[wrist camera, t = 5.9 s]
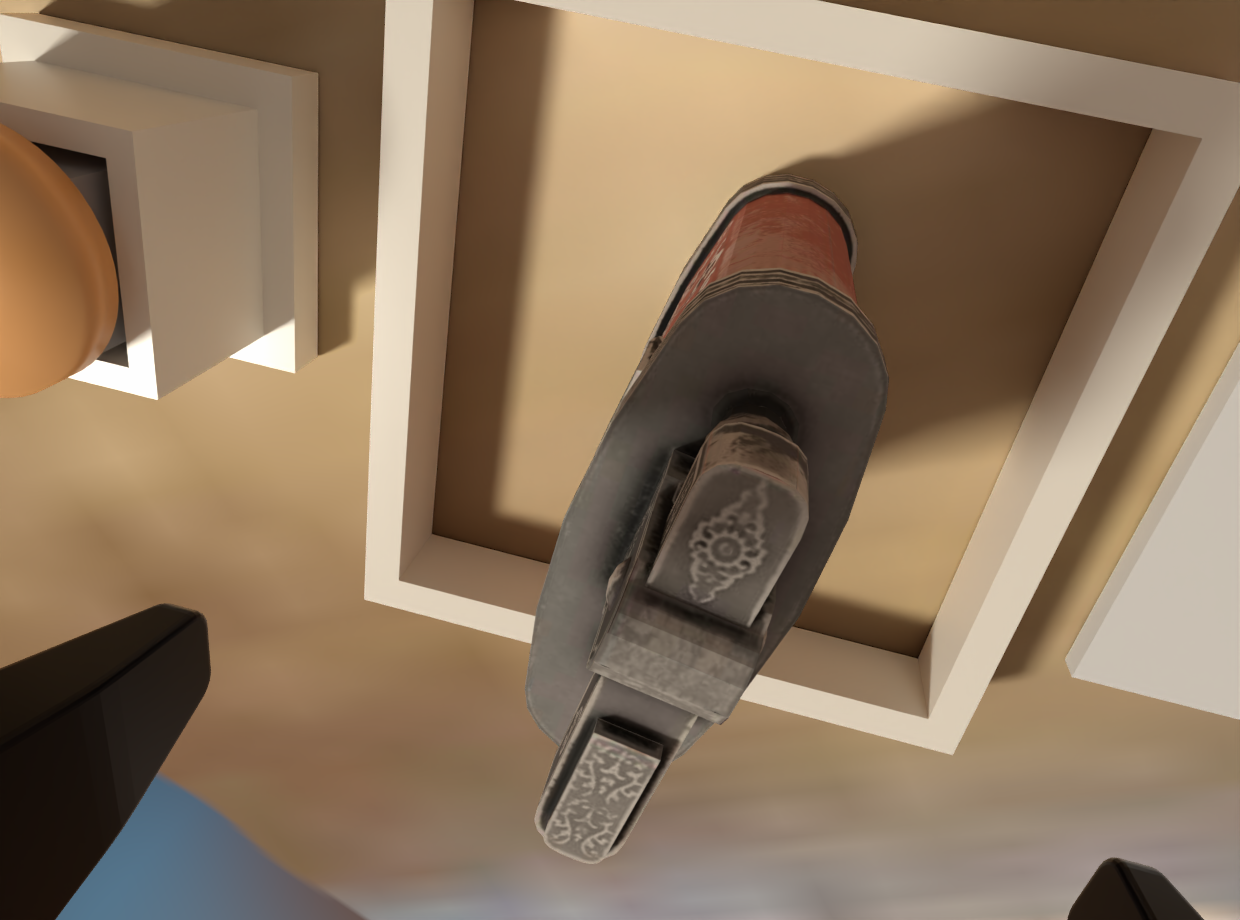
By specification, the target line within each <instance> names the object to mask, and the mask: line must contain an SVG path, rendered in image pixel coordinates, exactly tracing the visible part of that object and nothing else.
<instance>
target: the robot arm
mask: <svg viewBox="0 0 1240 920" xmlns="http://www.w3.org/2000/svg"><path fill="white" fill-rule="evenodd" d="M210 675H211V666H210V653H209V640H208V627H207V620H206V618H205V617H204V615H203V614H202V613H200V612H199V611H196V610H192V609H188V608H185V607H181V606H177V605H173V604H166V603H164V604H159V605H156V606H153V607H151V608H148V609H146V610H143V611H141V612H138V613H136V614H133V615H131V616H129V617H126V618H124V619H121V620H119V621H116V622H114V623H111V624H109V625H106V626H104V627H101V628H99V629H96V630H94V631H92V632H89V633H87V634H84V635H82V636H79V637H77V638H74V639H72V640H69V641H67V642H64V643H62V644H59V645H57V646H55V647H52V648H50V649H47V650H45V651H42V652H40V653H37V654H35V655H32V656H30V657H27V658H25V659H23V660H20V661H18V662H15V663H13V664H10V665H8V666H5V667H3V668H0V920H55V919H56V918H57V917H58V915H59V914H60V913H61V911H62V910H63V909H64V907H65V906H66V905H67V903H68V902H69V901H70V899H71V898H72V896H73V895H74V894H75V893H76V891H77V890H78V889H79V887H80V886H81V885H82V883H83V882H84V881H85V879H86V878H87V877H88V875H89V874H90V873H91V871H92V870H93V869H94V867H95V866H96V865H97V863H98V862H99V861H100V859H101V858H102V857H103V855H104V854H105V853H106V851H107V850H108V848H109V847H110V846H111V844H112V843H113V841H114V840H115V838H116V837H117V836H118V835H119V833H120V832H121V830H122V829H123V827H124V826H125V824H126V823H127V821H128V819H129V818H130V816H131V815H132V813H133V812H134V810H135V808H136V807H137V805H138V804H139V802H140V800H141V799H142V797H143V796H144V794H145V792H146V791H147V789H148V787H149V786H150V784H151V782H152V781H153V779H154V777H155V776H156V774H157V772H158V771H159V769H160V767H161V766H162V764H163V762H164V761H165V759H166V758H167V756H168V754H169V753H170V751H171V749H172V748H173V746H174V744H175V743H176V741H177V739H178V738H179V736H180V734H181V733H182V731H183V729H184V728H185V726H186V724H187V723H188V721H189V719H190V718H191V716H192V715H193V713H194V711H195V710H196V708H197V706H198V705H199V703H200V701H201V700H202V698H203V696H204V694H205V692H206V690H207V687H208V684H209V681H210ZM1068 920H1204V919H1203V918H1202V917H1201V916H1200V915H1199V914H1198V912H1197V911H1196V910H1195V909H1194V908H1193V907H1192V906H1191V905H1190V904H1189V902H1188V901H1187V900H1186V899H1185V898H1184V897H1183V896H1182V895H1181V894H1180V893H1179V891H1178V890H1177V889H1176V888H1175V887H1174V886H1173V885H1172V884H1171V883H1170V881H1169V880H1168V879H1167V878H1166V877H1165V876H1164V875H1163V874H1162V873H1161V872H1159V871H1158V870H1156V869H1154V868H1152V867H1150V866H1146V865H1142V864H1139V863H1135V862H1131V861H1127V860H1124V859H1120V858H1109V859H1107V860H1105V861H1103V863H1102V864H1101V865H1100V866H1099V868H1098V869H1097V871H1096V872H1095V874H1094V875H1093V876H1092V878H1091V879H1090V881H1089V882H1088V884H1087V885H1086V887H1085V888H1084V890H1083V891H1082V893H1081V894H1080V895H1079V897H1078V898H1077V900H1076V901H1075V903H1074V904H1073V906H1072V908H1071V910H1070V912H1069V915H1068Z"/></svg>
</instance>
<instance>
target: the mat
mask: <svg viewBox="0 0 1240 920" xmlns="http://www.w3.org/2000/svg"><path fill="white" fill-rule="evenodd" d="M1065 661H1066V663H1067V666H1068V668H1069V671H1070V673H1071V676H1072V677H1074V678H1078V679H1082V680H1086V681H1090V682H1094V683H1098V684H1102V685H1106V686H1109V687H1113V688H1117V689H1121V690H1125V691H1129V692H1133V693H1137V694H1141V695H1145V696H1149V697H1153V698H1157V699H1161V700H1165V701H1169V702H1172V703H1176V704H1180V705H1184V706H1188V707H1192V708H1196V709H1200V710H1204V711H1208V712H1212V713H1216V714H1220V715H1224V716H1228V717H1231V718H1235V719H1239V720H1240V342H1239V344H1238V346H1237V348H1236V349H1235V351H1234V353H1233V355H1232V357H1231V359H1230V360H1229V362H1228V364H1227V366H1226V368H1225V369H1224V371H1223V373H1222V375H1221V377H1220V378H1219V380H1218V382H1217V384H1216V386H1215V388H1214V389H1213V391H1212V393H1211V395H1210V397H1209V398H1208V400H1207V402H1206V404H1205V406H1204V408H1203V409H1202V411H1201V413H1200V415H1199V417H1198V418H1197V420H1196V422H1195V424H1194V426H1193V428H1192V429H1191V431H1190V433H1189V435H1188V437H1187V438H1186V440H1185V442H1184V444H1183V446H1182V447H1181V449H1180V451H1179V453H1178V455H1177V457H1176V458H1175V460H1174V462H1173V464H1172V466H1171V467H1170V469H1169V471H1168V473H1167V475H1166V477H1165V478H1164V480H1163V482H1162V484H1161V486H1160V487H1159V489H1158V491H1157V493H1156V495H1155V496H1154V498H1153V500H1152V502H1151V504H1150V506H1149V507H1148V509H1147V511H1146V513H1145V515H1144V516H1143V518H1142V520H1141V522H1140V524H1139V526H1138V527H1137V529H1136V531H1135V533H1134V535H1133V536H1132V538H1131V540H1130V542H1129V544H1128V545H1127V547H1126V549H1125V551H1124V553H1123V555H1122V556H1121V558H1120V560H1119V562H1118V564H1117V565H1116V567H1115V569H1114V571H1113V573H1112V575H1111V576H1110V578H1109V580H1108V582H1107V584H1106V585H1105V587H1104V589H1103V591H1102V593H1101V595H1100V596H1099V598H1098V600H1097V602H1096V604H1095V605H1094V607H1093V609H1092V611H1091V613H1090V614H1089V616H1088V618H1087V620H1086V622H1085V624H1084V625H1083V627H1082V629H1081V631H1080V633H1079V634H1078V636H1077V638H1076V640H1075V642H1074V644H1073V645H1072V647H1071V649H1070V651H1069V653H1068V654H1067V656H1066V658H1065Z"/></svg>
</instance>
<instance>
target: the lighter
mask: <svg viewBox="0 0 1240 920" xmlns="http://www.w3.org/2000/svg"><path fill="white" fill-rule="evenodd" d="M857 245H858V242H857V238H856V234H855V230H854V227H853V224H852V221H851V218H850V215H849V212H848V210H847V209H846V208H845V207H844V205H843V204H842V203H841V202H840V200H839V199H838V198H837V197H836V195H835V194H834V193H833V192H831V191H830V190H828V189H826V188H825V187H823V186H822V185H820V184H818V183H817V182H815V181H814V180H811V179H807V178H803V177H799V176H795V175H790V174H784V175H771V176H764V177H761V178H759V179H757V180H755V181H752V182H750V183H748V184H746V185H744V186H743V187H742V188H740V189H739V190H738V191H737V192H736V193H735V194H734V195H733V196H732V197H731V198H730V199H729V200H728V202H727V204H726V205H725V207H724V208H723V210H722V211H721V213H720V214H719V216H718V217H717V219H716V220H715V222H714V223H713V225H712V226H711V228H710V229H709V231H708V232H707V234H706V235H705V237H704V238H703V240H702V241H701V243H700V244H699V246H698V247H697V249H696V250H695V252H694V253H693V255H692V256H691V258H690V259H689V261H688V262H687V264H686V266H685V267H684V269H683V271H682V273H681V275H680V277H679V279H678V281H677V283H676V285H675V287H674V289H673V291H672V293H671V295H670V297H669V299H668V301H667V303H666V305H665V307H664V309H663V311H662V313H661V315H660V317H659V319H658V321H657V323H656V325H655V327H654V329H653V331H652V333H651V335H650V337H649V340H648V342H647V344H646V346H645V348H644V351H643V354H642V357H641V360H640V363H639V365H638V367H637V369H636V371H635V373H634V375H633V377H632V379H631V381H630V383H629V385H628V387H627V389H626V391H625V393H624V395H623V397H622V399H621V401H620V403H619V405H618V407H617V409H616V411H615V413H614V415H613V417H612V419H611V421H610V423H609V425H608V427H607V429H606V432H605V434H604V436H603V438H602V440H601V442H600V444H599V446H598V448H597V451H596V453H595V456H594V458H593V460H592V462H591V464H590V466H589V468H588V470H587V472H586V474H585V476H584V478H583V480H582V482H581V484H580V486H579V488H578V490H577V492H576V494H575V496H574V498H573V500H572V502H571V504H570V507H569V509H568V511H567V513H566V515H565V517H564V520H563V523H562V526H561V530H560V533H559V536H558V540H557V543H556V546H555V549H554V553H553V556H552V559H551V562H550V566H549V569H548V572H547V576H546V579H545V582H544V585H543V589H542V592H541V595H540V599H539V602H538V605H537V608H536V615H535V622H534V629H533V636H532V643H531V649H530V656H529V663H528V670H527V677H526V684H525V694H526V702H527V708H528V710H529V712H530V714H531V715H532V717H533V719H534V720H535V722H536V724H537V726H538V727H539V729H540V730H541V731H543V732H544V733H545V734H546V735H547V736H548V737H549V738H550V739H551V740H552V741H553V742H555V743H556V744H557V745H558V746H559V747H558V749H557V751H556V754H555V757H554V760H553V763H552V766H551V769H550V772H549V775H548V778H547V781H546V784H545V787H544V790H543V793H542V796H541V799H540V802H539V805H538V808H537V812H536V816H535V820H534V821H535V824H536V827H537V830H538V831H539V832H540V833H541V834H542V835H543V836H544V841H545V843H546V844H547V845H548V846H549V847H550V848H551V849H553V850H555V851H557V852H559V853H560V854H563V855H565V856H567V857H570V858H572V859H574V860H578V861H581V862H584V863H587V864H596V863H598V862H601V861H602V860H603V858H607V857H609V856H612V855H614V854H616V853H617V852H618V850H619V849H620V848H621V847H622V846H623V845H624V843H625V841H626V840H627V838H628V836H629V834H630V833H631V831H632V829H633V827H634V826H635V824H636V822H637V821H638V819H639V817H640V815H641V814H642V812H643V810H644V809H645V807H646V805H647V803H648V802H649V800H650V798H651V796H652V795H653V793H654V791H655V790H656V788H657V786H658V784H659V783H660V781H661V779H662V778H663V776H664V774H665V772H666V771H667V769H668V767H669V765H670V764H671V762H672V761H674V760H676V759H677V758H679V757H680V756H682V755H684V754H685V753H686V752H687V751H688V749H689V748H690V747H691V746H692V745H693V744H694V743H695V742H696V741H697V740H698V739H699V738H700V737H701V736H702V735H703V734H704V733H705V732H706V731H707V730H708V729H709V728H710V727H711V726H712V725H713V724H714V723H717V724H720V725H721V724H722V723H723V722H724V721H726V720H727V719H728V718H729V716H730V714H731V713H732V711H733V709H734V708H735V706H736V704H737V703H738V701H739V699H740V698H741V696H742V695H743V693H744V691H745V690H746V689H747V687H748V686H749V685H750V683H751V682H752V681H753V679H754V678H755V676H756V675H757V674H758V672H759V671H760V670H761V668H762V667H763V666H764V664H765V663H766V661H767V660H768V659H769V657H770V656H771V655H772V653H773V652H774V651H775V649H776V648H777V646H778V645H779V644H780V642H781V641H782V640H783V638H784V637H785V636H786V634H787V633H788V631H789V630H790V629H791V627H792V626H793V625H794V623H795V622H796V621H797V619H798V618H799V616H800V614H801V612H802V610H803V608H804V606H805V604H806V602H807V600H808V598H809V596H810V595H811V593H812V591H813V589H814V587H815V585H816V583H817V581H818V579H819V577H820V575H821V573H822V571H823V569H824V567H825V565H826V563H827V561H828V559H829V557H830V555H831V553H832V551H833V549H834V547H835V545H836V543H837V541H838V539H839V537H840V535H841V533H842V531H843V529H844V527H845V525H846V523H847V521H848V519H849V516H850V513H851V510H852V507H853V504H854V501H855V498H856V495H857V492H858V489H859V487H860V484H861V481H862V478H863V475H864V472H865V469H866V466H867V463H868V460H869V457H870V455H871V452H872V449H873V446H874V443H875V440H876V437H877V434H878V431H879V428H880V425H881V423H882V420H883V417H884V414H885V411H886V403H887V393H888V383H889V377H888V373H887V369H886V364H885V360H884V356H883V353H882V350H881V347H880V344H879V341H878V338H877V335H876V331H875V328H874V325H873V324H872V323H871V321H870V320H869V319H868V318H867V317H866V315H865V314H864V313H863V312H862V311H861V309H860V308H859V307H858V305H857V299H856V294H855V288H854V283H853V277H852V276H853V273H854V270H855V266H856V258H857Z"/></svg>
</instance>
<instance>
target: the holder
mask: <svg viewBox="0 0 1240 920" xmlns="http://www.w3.org/2000/svg"><path fill="white" fill-rule="evenodd" d="M516 1H521V2H526V3H531V4H536V5H541V6H546V7H551V8H556V9H561V10H566V11H571V12H576V13H581V14H586V15H591V16H596V17H601V18H606V19H611V20H616V21H621V22H626V23H631V24H636V25H641V26H646V27H651V28H656V29H661V30H666V31H671V32H675V33H680V34H685V35H690V36H695V37H700V38H705V39H710V40H715V41H720V42H725V43H730V44H735V45H740V46H745V47H750V48H755V49H760V50H765V51H770V52H775V53H780V54H785V55H790V56H795V57H800V58H805V59H810V60H815V61H820V62H825V63H830V64H835V65H840V66H845V67H850V68H855V69H860V70H865V71H870V72H874V73H879V74H884V75H889V76H894V77H899V78H904V79H909V80H914V81H919V82H924V83H929V84H934V85H939V86H944V87H949V88H954V89H959V90H964V91H969V92H974V93H979V94H984V95H989V96H994V97H999V98H1004V99H1009V100H1014V101H1019V102H1024V103H1029V104H1034V105H1039V106H1044V107H1049V108H1054V109H1059V110H1064V111H1069V112H1073V113H1078V114H1083V115H1088V116H1093V117H1098V118H1103V119H1108V120H1113V121H1118V122H1123V123H1128V124H1133V125H1138V126H1143V127H1148V128H1153V129H1152V131H1151V134H1150V136H1149V138H1148V140H1147V143H1146V145H1145V147H1144V149H1143V152H1142V154H1141V156H1140V159H1139V161H1138V163H1137V165H1136V168H1135V170H1134V172H1133V174H1132V177H1131V179H1130V181H1129V183H1128V186H1127V188H1126V190H1125V192H1124V195H1123V197H1122V199H1121V201H1120V204H1119V206H1118V208H1117V210H1116V213H1115V215H1114V217H1113V219H1112V222H1111V224H1110V226H1109V228H1108V231H1107V233H1106V235H1105V237H1104V240H1103V242H1102V244H1101V247H1100V249H1099V251H1098V253H1097V256H1096V258H1095V260H1094V262H1093V265H1092V267H1091V269H1090V271H1089V274H1088V276H1087V278H1086V280H1085V283H1084V285H1083V287H1082V289H1081V292H1080V294H1079V296H1078V298H1077V301H1076V303H1075V305H1074V307H1073V310H1072V312H1071V314H1070V316H1069V319H1068V321H1067V323H1066V326H1065V328H1064V330H1063V332H1062V335H1061V337H1060V339H1059V341H1058V344H1057V346H1056V348H1055V350H1054V353H1053V355H1052V357H1051V359H1050V362H1049V364H1048V366H1047V368H1046V371H1045V373H1044V375H1043V377H1042V380H1041V382H1040V384H1039V386H1038V389H1037V391H1036V393H1035V395H1034V398H1033V400H1032V402H1031V405H1030V407H1029V409H1028V411H1027V414H1026V416H1025V418H1024V420H1023V423H1022V425H1021V427H1020V429H1019V432H1018V434H1017V436H1016V438H1015V441H1014V443H1013V445H1012V447H1011V450H1010V452H1009V454H1008V456H1007V459H1006V461H1005V463H1004V465H1003V468H1002V470H1001V472H1000V474H999V477H998V479H997V481H996V484H995V486H994V488H993V490H992V493H991V495H990V497H989V499H988V502H987V504H986V506H985V508H984V511H983V513H982V515H981V517H980V520H979V522H978V524H977V526H976V529H975V531H974V533H973V535H972V538H971V540H970V542H969V544H968V547H967V549H966V551H965V553H964V556H963V558H962V560H961V563H960V565H959V567H958V569H957V572H956V574H955V576H954V578H953V581H952V583H951V585H950V587H949V590H948V592H947V594H946V596H945V599H944V601H943V603H942V605H941V608H940V610H939V612H938V614H937V617H936V619H935V621H934V623H933V626H932V628H931V630H930V632H929V635H928V637H927V639H926V642H925V644H924V646H923V648H922V651H921V653H920V655H919V657H918V659H917V658H914V657H910V656H906V655H902V654H898V653H894V652H890V651H886V650H882V649H878V648H875V647H871V646H867V645H863V644H859V643H855V642H851V641H847V640H843V639H839V638H836V637H832V636H828V635H824V634H820V633H816V632H812V631H808V630H804V629H800V628H796V627H793V626H792V627H791V629H790V630H789V631H788V633H787V634H786V636H785V637H784V638H783V640H782V641H781V642H780V644H779V645H778V646H777V648H776V649H775V651H774V652H773V653H772V655H771V656H770V657H769V659H768V660H767V661H766V663H765V664H764V666H763V667H762V668H761V670H760V671H759V672H758V674H757V675H756V676H755V678H754V679H753V681H752V682H751V683H750V685H749V686H748V687H747V689H746V690H745V691H744V693H743V695H742V696H741V698H740V699H743V700H746V701H750V702H754V703H758V704H761V705H765V706H769V707H773V708H777V709H780V710H784V711H788V712H792V713H795V714H799V715H803V716H807V717H811V718H814V719H818V720H822V721H826V722H829V723H833V724H837V725H841V726H845V727H848V728H852V729H856V730H860V731H863V732H867V733H871V734H875V735H879V736H882V737H886V738H890V739H894V740H898V741H901V742H905V743H909V744H913V745H916V746H920V747H924V748H928V749H932V750H935V751H939V752H943V753H947V754H950V755H953V753H954V751H955V750H956V748H957V746H958V744H959V742H960V740H961V738H962V736H963V734H964V732H965V730H966V728H967V726H968V724H969V722H970V720H971V718H972V716H973V714H974V712H975V710H976V708H977V706H978V704H979V702H980V700H981V698H982V696H983V694H984V692H985V690H986V688H987V686H988V684H989V682H990V680H991V678H992V676H993V674H994V672H995V670H996V668H997V666H998V664H999V662H1000V660H1001V658H1002V656H1003V654H1004V652H1005V650H1006V648H1007V646H1008V644H1009V642H1010V640H1011V638H1012V636H1013V634H1014V632H1015V630H1016V629H1017V627H1018V625H1019V623H1020V621H1021V619H1022V617H1023V615H1024V613H1025V611H1026V609H1027V607H1028V605H1029V603H1030V601H1031V599H1032V597H1033V595H1034V593H1035V591H1036V589H1037V587H1038V585H1039V583H1040V581H1041V579H1042V577H1043V575H1044V573H1045V571H1046V569H1047V567H1048V565H1049V563H1050V561H1051V559H1052V557H1053V555H1054V553H1055V551H1056V549H1057V547H1058V545H1059V543H1060V541H1061V539H1062V537H1063V535H1064V533H1065V531H1066V529H1067V527H1068V525H1069V523H1070V521H1071V519H1072V517H1073V515H1074V513H1075V511H1076V509H1077V507H1078V506H1079V504H1080V502H1081V500H1082V498H1083V496H1084V494H1085V492H1086V490H1087V488H1088V486H1089V484H1090V482H1091V480H1092V478H1093V476H1094V474H1095V472H1096V470H1097V468H1098V466H1099V464H1100V462H1101V460H1102V458H1103V456H1104V454H1105V452H1106V450H1107V448H1108V446H1109V444H1110V442H1111V440H1112V438H1113V436H1114V434H1115V432H1116V430H1117V428H1118V426H1119V424H1120V422H1121V420H1122V418H1123V416H1124V414H1125V412H1126V410H1127V408H1128V406H1129V404H1130V402H1131V400H1132V398H1133V396H1134V394H1135V392H1136V390H1137V388H1138V386H1139V384H1140V383H1141V381H1142V379H1143V377H1144V375H1145V373H1146V371H1147V369H1148V367H1149V365H1150V363H1151V361H1152V359H1153V357H1154V355H1155V353H1156V351H1157V349H1158V347H1159V345H1160V343H1161V341H1162V339H1163V337H1164V335H1165V333H1166V331H1167V329H1168V327H1169V325H1170V323H1171V321H1172V319H1173V317H1174V315H1175V313H1176V311H1177V309H1178V307H1179V305H1180V303H1181V301H1182V299H1183V297H1184V295H1185V293H1186V291H1187V289H1188V287H1189V285H1190V283H1191V281H1192V279H1193V277H1194V275H1195V273H1196V271H1197V269H1198V267H1199V265H1200V263H1201V262H1202V260H1203V258H1204V256H1205V254H1206V252H1207V250H1208V248H1209V246H1210V244H1211V242H1212V240H1213V238H1214V236H1215V234H1216V232H1217V230H1218V228H1219V226H1220V224H1221V222H1222V220H1223V218H1224V216H1225V214H1226V212H1227V210H1228V208H1229V206H1230V204H1231V202H1232V200H1233V198H1234V196H1235V194H1236V192H1237V190H1238V188H1239V186H1240V83H1239V82H1233V81H1228V80H1223V79H1218V78H1213V77H1208V76H1203V75H1198V74H1192V73H1187V72H1182V71H1177V70H1172V69H1167V68H1162V67H1157V66H1151V65H1146V64H1141V63H1136V62H1131V61H1126V60H1121V59H1116V58H1110V57H1105V56H1100V55H1095V54H1090V53H1085V52H1080V51H1075V50H1069V49H1064V48H1059V47H1054V46H1049V45H1044V44H1039V43H1034V42H1028V41H1023V40H1018V39H1013V38H1008V37H1003V36H998V35H993V34H987V33H982V32H977V31H972V30H967V29H962V28H957V27H952V26H946V25H941V24H936V23H931V22H926V21H921V20H916V19H911V18H905V17H900V16H895V15H890V14H885V13H880V12H875V11H870V10H864V9H859V8H854V7H849V6H844V5H839V4H834V3H829V2H823V1H818V0H516ZM473 10H474V0H386V10H385V37H384V65H383V93H382V120H381V148H380V176H379V204H378V231H377V259H376V287H375V314H374V342H373V370H372V397H371V425H370V453H369V481H368V508H367V536H366V564H365V591H364V600H368V601H372V602H376V603H380V604H383V605H387V606H391V607H395V608H398V609H402V610H406V611H410V612H414V613H417V614H421V615H425V616H429V617H433V618H436V619H440V620H444V621H448V622H451V623H455V624H459V625H463V626H467V627H470V628H474V629H478V630H482V631H485V632H489V633H493V634H497V635H501V636H504V637H508V638H512V639H516V640H519V641H523V642H527V643H532V636H533V629H534V622H535V615H536V608H537V605H538V602H539V599H540V595H541V592H542V589H543V585H544V582H545V579H546V576H547V572H548V569H549V566H550V564H547V563H543V562H539V561H535V560H531V559H527V558H523V557H519V556H515V555H512V554H508V553H504V552H500V551H496V550H492V549H488V548H484V547H480V546H476V545H472V544H469V543H465V542H461V541H457V540H453V539H449V538H445V537H441V536H437V535H433V534H432V524H433V512H434V499H435V487H436V474H437V461H438V449H439V436H440V424H441V411H442V399H443V386H444V374H445V361H446V349H447V336H448V324H449V311H450V299H451V286H452V273H453V261H454V248H455V236H456V223H457V211H458V198H459V186H460V173H461V161H462V148H463V136H464V123H465V111H466V98H467V86H468V73H469V60H470V48H471V35H472V23H473ZM0 47H1V53H2V60H3V63H0V123H1V124H3V125H5V126H7V127H8V128H10V129H12V130H14V131H15V132H17V133H19V134H20V135H22V136H23V137H25V138H26V139H27V140H29V141H32V142H37V143H41V144H45V145H50V146H54V147H59V148H63V149H68V150H72V151H76V152H81V153H85V154H90V155H94V156H99V157H103V158H106V163H107V172H108V181H109V190H110V199H111V208H112V217H113V226H114V235H115V244H116V253H117V263H118V272H119V281H120V290H121V299H122V308H123V317H124V326H125V335H126V342H124V343H122V344H120V345H118V346H116V347H114V348H112V349H109V350H107V351H105V352H103V353H102V354H101V355H100V356H99V357H98V358H97V359H96V360H95V361H94V362H93V363H92V364H91V365H89V366H88V367H86V368H85V369H84V370H82V371H80V372H78V373H76V374H74V375H72V376H70V377H68V378H72V379H76V380H80V381H84V382H88V383H92V384H96V385H100V386H104V387H108V388H112V389H116V390H120V391H124V392H128V393H132V394H136V395H140V396H144V397H148V398H152V399H156V400H158V399H160V398H162V397H163V396H165V395H167V394H168V393H170V392H172V391H173V390H175V389H177V388H178V387H180V386H182V385H183V384H185V383H187V382H188V381H190V380H192V379H193V378H195V377H197V376H198V375H200V374H202V373H203V372H205V371H207V370H208V369H210V368H212V367H213V366H215V365H217V364H218V363H220V362H222V361H223V360H225V359H227V358H228V357H231V358H235V359H239V360H243V361H247V362H251V363H255V364H259V365H263V366H267V367H272V368H276V369H280V370H284V371H288V372H292V373H296V372H297V371H299V370H300V369H302V368H303V367H304V366H306V365H307V364H309V363H310V362H311V361H313V360H314V359H316V358H317V357H318V73H316V72H311V71H306V70H302V69H297V68H292V67H288V66H283V65H278V64H273V63H269V62H264V61H259V60H255V59H250V58H245V57H240V56H236V55H231V54H226V53H222V52H217V51H212V50H207V49H203V48H198V47H193V46H189V45H184V44H179V43H175V42H170V41H165V40H160V39H156V38H151V37H146V36H142V35H137V34H132V33H127V32H123V31H118V30H113V29H109V28H104V27H99V26H94V25H90V24H85V23H80V22H76V21H71V20H66V19H62V18H57V17H52V16H47V15H43V14H38V13H0Z"/></svg>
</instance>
